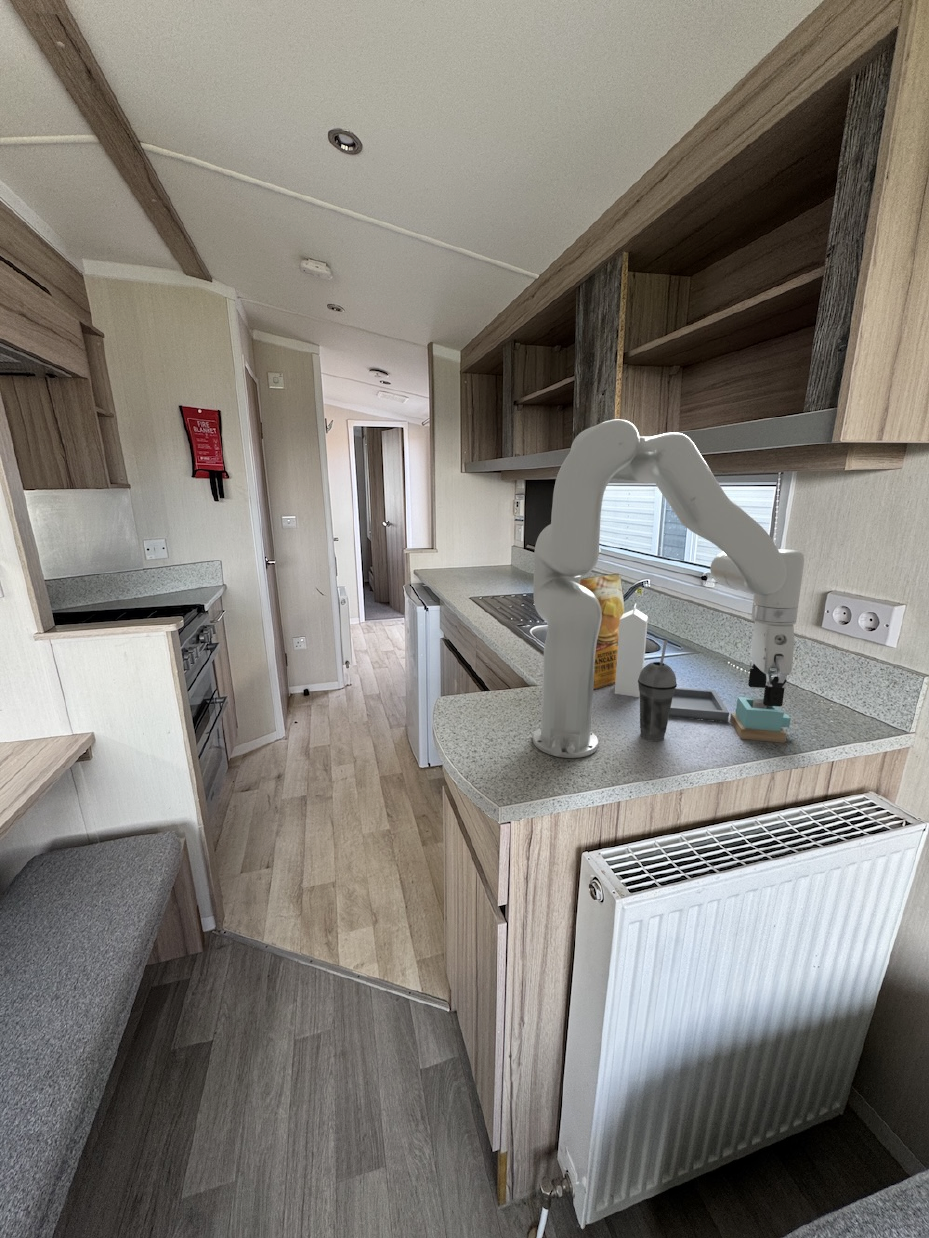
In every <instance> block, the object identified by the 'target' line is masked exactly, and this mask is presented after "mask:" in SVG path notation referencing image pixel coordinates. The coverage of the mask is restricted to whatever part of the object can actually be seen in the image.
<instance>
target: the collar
mask: <svg viewBox="0 0 929 1238" xmlns="http://www.w3.org/2000/svg"><path fill="white" fill-rule="evenodd" d="M763 699H764V698H757V697H756V698H755V697H745V696H744V697H742V696H737V700H736V701H737V702H736V708H735V713H736V714H735V715H736V716H737V718H738V719H739V721H740V722H741V724H742V725H743V727H744V728H749V729H760V730H771V731H781V729H783V728H790V725H791V717H790V716H789V714H787V713H785V712H784V711H783V710H782V709H781V707H778V706H767V708H766V709H762V708H753V702H754V700H762V701H763Z"/></svg>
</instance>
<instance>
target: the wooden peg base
mask: <svg viewBox="0 0 929 1238" xmlns="http://www.w3.org/2000/svg"><path fill="white" fill-rule="evenodd" d="M753 708H762V709H766V708H767V706H765V705H764V704H763V701H762V700H754V702H753ZM735 714H736V712H731V713H730V718H729V723H730V725H732V728H733V729H734V731H735V732H736V734H737V735H738V737H739V739H743V740H744V739H745V740H752V741H762V742H763V741H764V742H774V743H783V744H785V743H786V737H787V732H786V731H785V730H784V728H782V729H781V731H771V730H760V729H749V728H744V727H743V725H742V724H741V722H740V721H739V719H738V718H737V716H736V715H735Z"/></svg>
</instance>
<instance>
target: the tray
mask: <svg viewBox="0 0 929 1238" xmlns="http://www.w3.org/2000/svg"><path fill="white" fill-rule="evenodd" d="M729 715H730V711H729V710H728V709H727V707H726V706H725V704H724V703H723V700H722V699H721V697H720V696H719V694H718V693H717V691H716V690H711V689H702V688H701V689H699V688H686V687H676V688H675V693H674V696H673V697H672V703H671V708H670V713H669V718H677V719H678V718H679V719H687V720H697V719H700V720H699V721H708V720H714V721H713V722H719V721H722V722H721V723H729V719H730V718H729ZM701 719H703V720H701Z"/></svg>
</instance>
